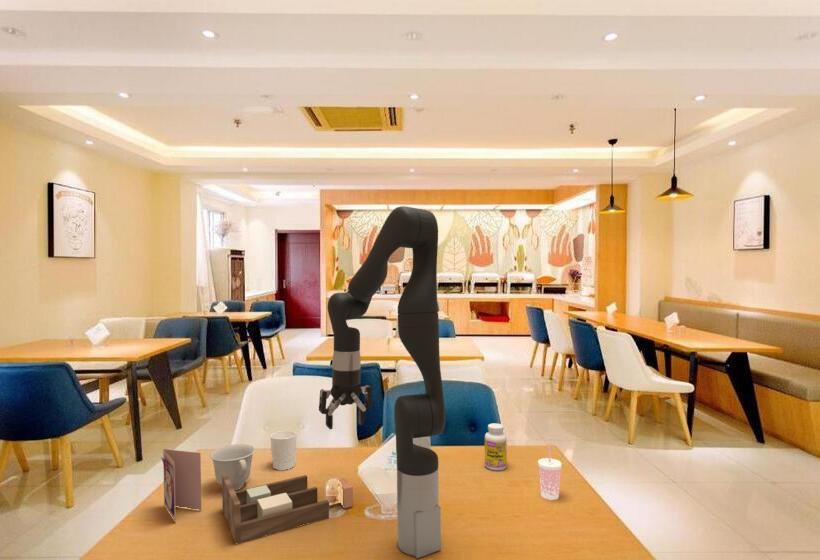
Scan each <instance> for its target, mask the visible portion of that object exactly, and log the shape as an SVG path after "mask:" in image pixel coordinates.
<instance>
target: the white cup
mask: <svg viewBox="0 0 820 560" xmlns="http://www.w3.org/2000/svg"><path fill="white" fill-rule="evenodd" d="M297 437H298V436H297V432H296V431H294V430H279V431H275V432H273V433H271V434H270V447H271V448H270V449H271V459H272V468H273V469H274V468H275V469H277V470H276V471H287V470H286V469H288V470H291V469H293V468H294V467H295V466H296V456H297V455H296V454H297ZM292 467H293V468H292ZM290 468H291V469H290ZM275 469H274V470H275Z"/></svg>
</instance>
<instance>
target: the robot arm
mask: <svg viewBox="0 0 820 560" xmlns="http://www.w3.org/2000/svg"><path fill="white" fill-rule="evenodd" d="M438 225H439V224H438V220H437V218H436V216H435V214H434V213H433V212H432V211H431V210H427V209H423V208H417V207H410V206H403V205H402V206H398V207H395V208H394V209H393V210H392V211H390V213H389V215H388V216H387V218H386V219H385V221H384V222H383V225H382V227H381V228H380V231H379V232H378V235H377V237H376V239H375V241H374V242H373V245H372V247H371V249H370V251H369V253H368V255H367V257H366V258H365V260H364V262H363V263H362V265H361V266H360V267H359V269H358V270H357V271H356V273H354V275H353V276H352V278H351V279H350V281H349V282H348V284H347V289H348V292H335V293H333V294H332V295H331V296H330V297H329V299H328V301H327V307H326V308H327V314H328V318H329V321H330V325H331V329H332V332H333V333H332V334H333V352H332V353H333V354H332V363H331V366H332V367H331V370H332V372H331V382H332V383H331V388H330V389H329V390H328V389H327V390H325V389H323V388H321V389H320V391H319V400H318V401H319V403H318V411H319V413H321V414H322V415H325V426H326V427H327V429H329V430H332V429H333V425H334V423H333V422H334V421H333V419H334V415H333V414H334V413H335V411H336V410H337V409H339V406H346V405H353V404H355V405H356V406H357V407H358V410H357V423H358V425H359V426H363V425H364V423H365V422H366V411H367V410H369V409H372V408H373V398H372V397H373V395H372V393H373V392H372V391H373V389H372V387H371V386H370V385H368V384H366V385H364V386H361V365H362V364H361V359H362V358H361V333H360V332H361V331H360V330H359V329H358V328H357V327H352V326H349V325H348V323H347V320H349V319H359V318H361V317H363V316H364V315H365V314H367V312H368V309H369V307H370V304H371V301H372V299H373V296H374V295H375V294H376V293H377V292H378V291H379V289H380V288H381V287H382V285H383V284H384V283H385V281H386V279H387V276H388V271H389V270H388V269H389V267H388V265H389V263H388V262H389V259H390V257H391V256H392V255H393V254H394V253H395V252H396V251H397V250H398V249H399V248H404V249H412V250H411V251H412V268H411V274H410V277H409V279H408V281H407V282H406V283H407V284H406V286H405V287H404V289H403V291H402V293H401V295H400V298H399V301H398V305H397V329H398V330H397V331H398V332H397V333H398V337H399V340H400V342H401V343H402V345H403V346H404V348H405V350H406V351H407V352H408V354H409V355H410V357H411V359H413V361H414V362H415V364H416V366H417V367H418V370H419V371H420V373H421V376H422V380H423V383H424V389H425V393H417V394H408V395H407V394H406V395H400V396H398V397H397V398H396V400H395V402H394V410H393V411H394V414H393V415H394V430H395V431H394V432H395V451H396V452H395V453H396V456H395V457H396V514H397V515H396V520H397V523H396V525H397V526H396V527H397V532H396V533H397V546H398V547H397V548H398V549H399V550H400V551H401V552H402V553H404V554H406V555H408V556H414V557H415V558H416V559H420V558H423V557H425V556H428V555H431V554H434V553H436V552H439V551H441V550H442V525H441V524H442V523H441V522H442V520H441V519H442V518H441V516H442V515H441V514H442V511H441V510H442V509H441V506H440V505H439V503H440V500H439V495H440V494H439V487H440V486H439V456H438V454H437V453H436V451H434V450H433V449H428V448H425V447H421V446H418V445H415V444H414V443H413V438H420V437H428V436H430V437H435V436H440V435H441V434H443V432H444V430H445V428H446V407H445V396H444V390H443V381H442V372H441V361H440V360H441V357H440V356H441V355H440V323H439V321H440V320H439V305H438V284H437V283H438V281H437V279H438V278H437V276H438V275H437V270H438V269H437V267H438V266H437V264H438V249H439V248H438V247H439V226H438ZM361 393H362V394H364V403H363V402H362V401H361V400H360V398H359V397H360V394H361ZM330 396H332V399H331V401H330V402H329V403H328V406H327V399H329V397H330Z"/></svg>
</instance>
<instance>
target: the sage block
mask: <svg viewBox="0 0 820 560" xmlns="http://www.w3.org/2000/svg"><path fill="white" fill-rule="evenodd" d="M263 485H264V486H261V485H258V486H259V487H256V486H254V487H255V488H252V487H250V488H251V489H248V488H245V489H246V495H247V504H249V503H253V502H257V500H258V499H262V498H266V497H270V496H271V492H270V490H269V489H268V487H267V485H265V484H263Z"/></svg>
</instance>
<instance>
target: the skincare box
mask: <svg viewBox="0 0 820 560" xmlns="http://www.w3.org/2000/svg"><path fill="white" fill-rule="evenodd" d="M413 443H414V444H415V445H418V446H421V447H425V448H428V449H431V448H432V447H431V444H432V443H431V436H428V437H420V438H413ZM431 450H432V449H431Z"/></svg>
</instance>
